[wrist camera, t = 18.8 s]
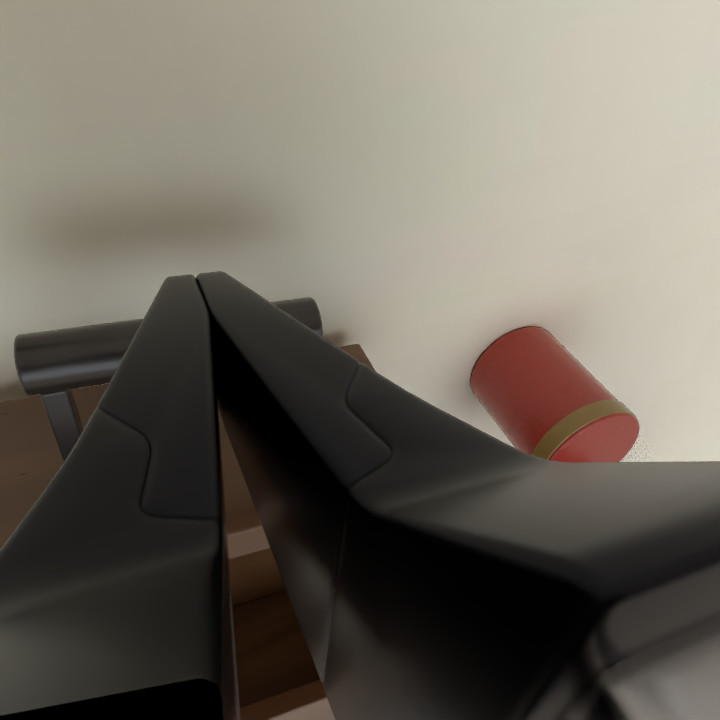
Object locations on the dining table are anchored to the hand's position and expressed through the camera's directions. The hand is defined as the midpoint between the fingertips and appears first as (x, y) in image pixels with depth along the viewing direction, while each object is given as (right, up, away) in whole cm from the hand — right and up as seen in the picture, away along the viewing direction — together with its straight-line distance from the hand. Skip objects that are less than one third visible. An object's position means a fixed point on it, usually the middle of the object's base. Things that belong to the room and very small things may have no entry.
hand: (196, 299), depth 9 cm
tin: (+10, -1, +19) cm, 21 cm away
